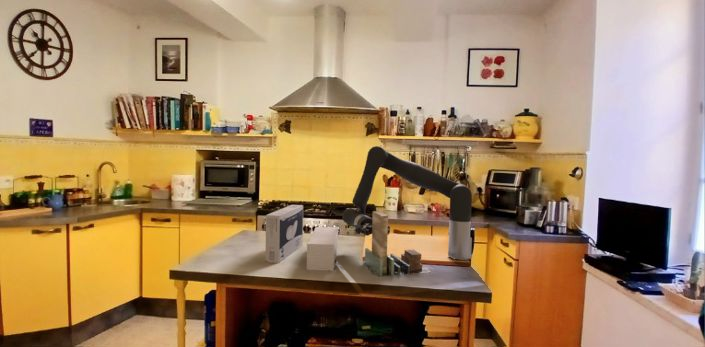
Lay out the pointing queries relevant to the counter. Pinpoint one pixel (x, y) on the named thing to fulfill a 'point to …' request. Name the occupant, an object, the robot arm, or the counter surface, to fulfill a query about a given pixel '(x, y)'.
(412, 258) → the offcut stack
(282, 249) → the packaging
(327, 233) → the stack of papers
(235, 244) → the counter surface
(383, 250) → the birch panel
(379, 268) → the rack
